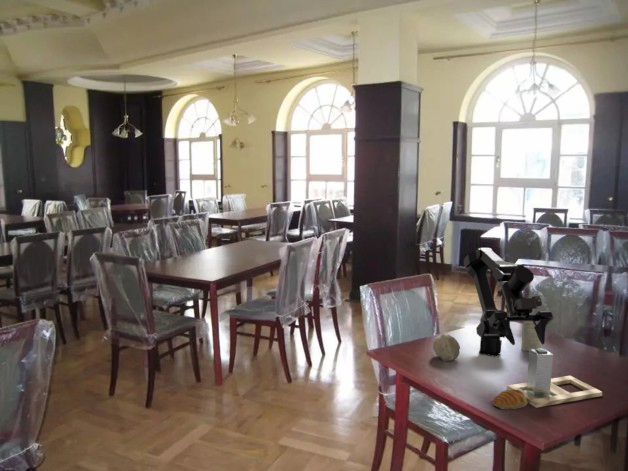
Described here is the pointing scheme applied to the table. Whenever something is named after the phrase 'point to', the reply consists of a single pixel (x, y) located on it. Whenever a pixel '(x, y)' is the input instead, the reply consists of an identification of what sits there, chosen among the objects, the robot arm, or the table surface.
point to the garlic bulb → (446, 347)
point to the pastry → (510, 399)
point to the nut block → (539, 373)
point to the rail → (559, 392)
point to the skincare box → (529, 336)
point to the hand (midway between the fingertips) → (528, 344)
